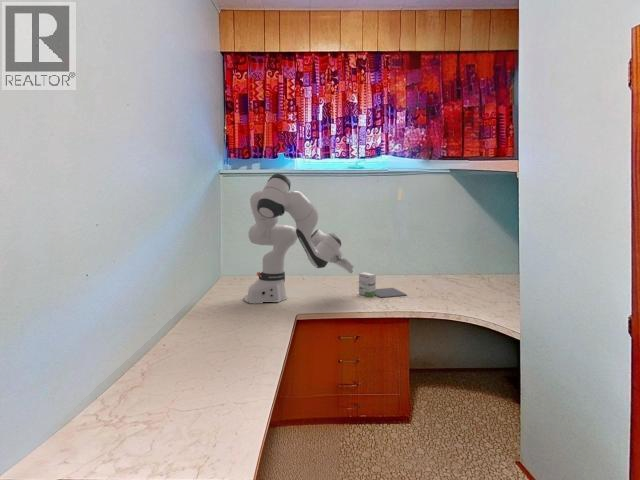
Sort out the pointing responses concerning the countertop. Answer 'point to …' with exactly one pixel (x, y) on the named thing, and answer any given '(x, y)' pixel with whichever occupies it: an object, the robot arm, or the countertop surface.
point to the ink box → (367, 284)
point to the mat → (388, 293)
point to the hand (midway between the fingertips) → (351, 272)
